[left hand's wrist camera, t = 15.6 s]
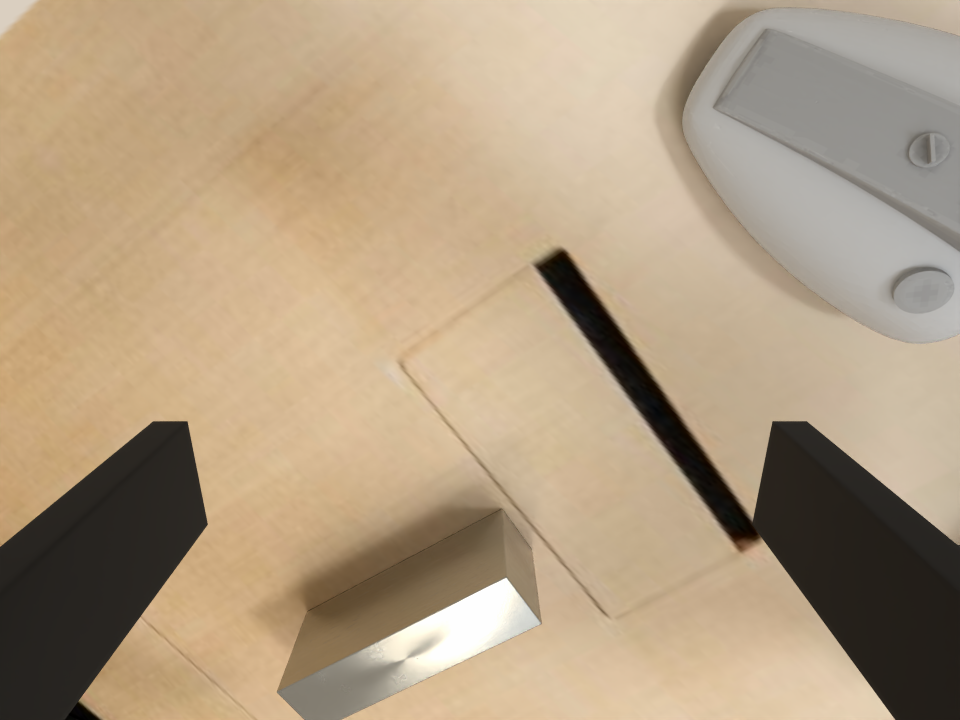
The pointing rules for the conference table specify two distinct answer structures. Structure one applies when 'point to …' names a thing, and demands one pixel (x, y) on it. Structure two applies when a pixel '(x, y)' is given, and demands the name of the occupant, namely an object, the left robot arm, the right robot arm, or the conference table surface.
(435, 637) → the bar
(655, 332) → the conference table surface
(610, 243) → the conference table surface
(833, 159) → the projector
